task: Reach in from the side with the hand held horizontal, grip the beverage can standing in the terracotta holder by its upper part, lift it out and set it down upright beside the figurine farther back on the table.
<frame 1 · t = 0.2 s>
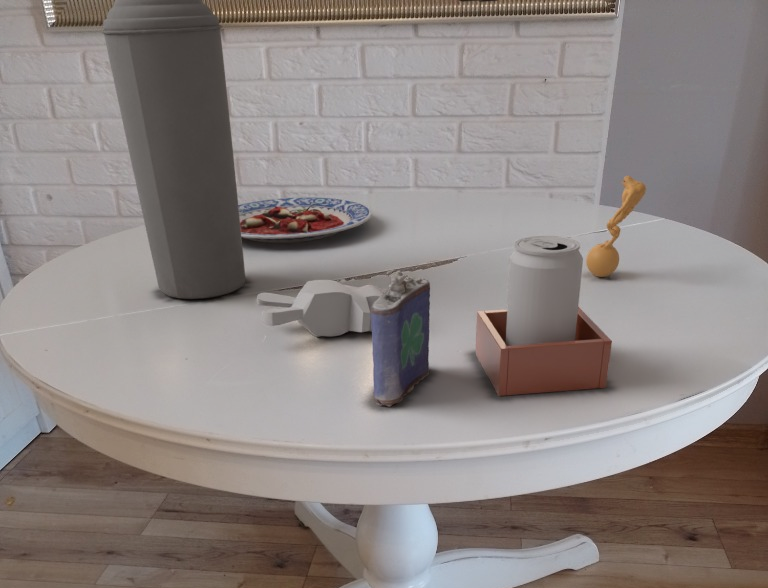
hand: (480, 1, 65), 30 cm above the table, tool pointing down, fingers open, 8 cm apart
canister: (203, 289, 102), on the table
ceramic plate: (291, 230, 125), on the table
flask: (401, 388, 74), on the table
figurine: (608, 278, 100), on the table
beverage can: (537, 372, 76), resting in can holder
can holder: (537, 370, 76), on the table
bunny figurine: (331, 332, 87), on the table
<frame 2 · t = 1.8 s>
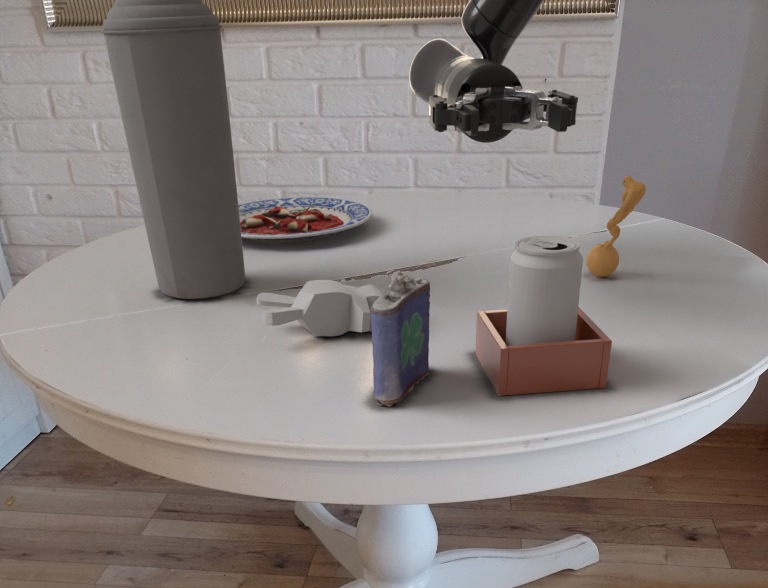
hand: (520, 121, 74), 20 cm above the table, tool horizontal, fingers open, 8 cm apart
nothing on the table moved.
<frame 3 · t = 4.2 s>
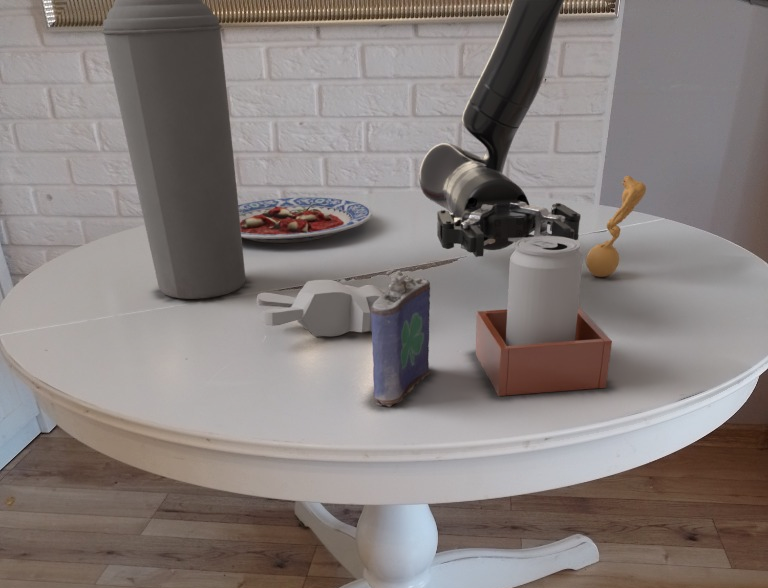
hand: (524, 243, 77), 10 cm above the table, tool horizontal, fingers open, 8 cm apart
nothing on the table moved.
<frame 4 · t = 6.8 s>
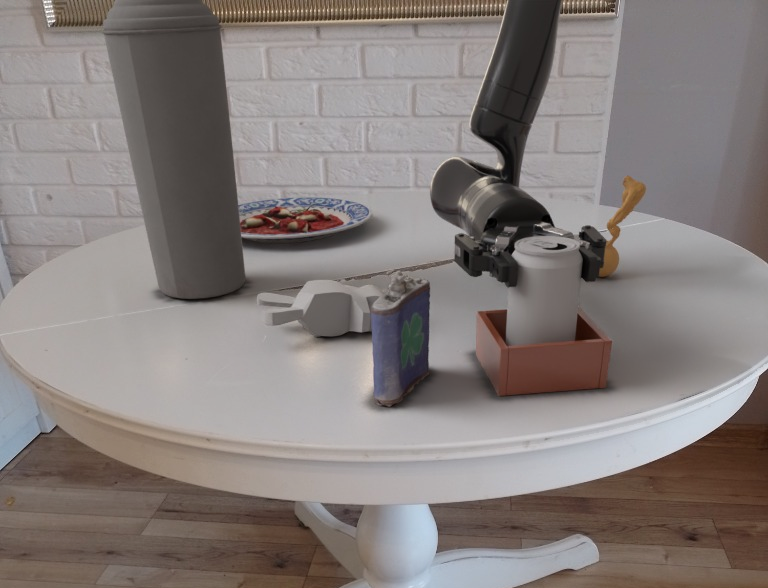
hand: (553, 273, 69), 10 cm above the table, tool horizontal, fingers closed on beverage can, 6 cm apart
beverage can: (537, 372, 76), resting in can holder, touching gripper
everything else where it was.
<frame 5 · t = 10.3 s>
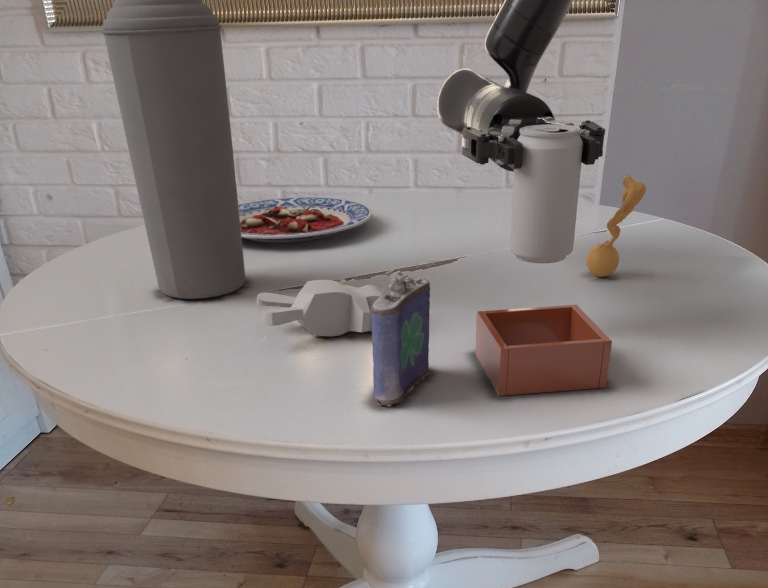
hand: (555, 154, 74), 18 cm above the table, tool horizontal, fingers closed on beverage can, 6 cm apart
beverage can: (540, 258, 81), point 8 cm above the table, touching gripper
everything else where it was.
when the fingers open (10 cm above the table, at t = 13.9 s): beverage can stays where it is, on the table.
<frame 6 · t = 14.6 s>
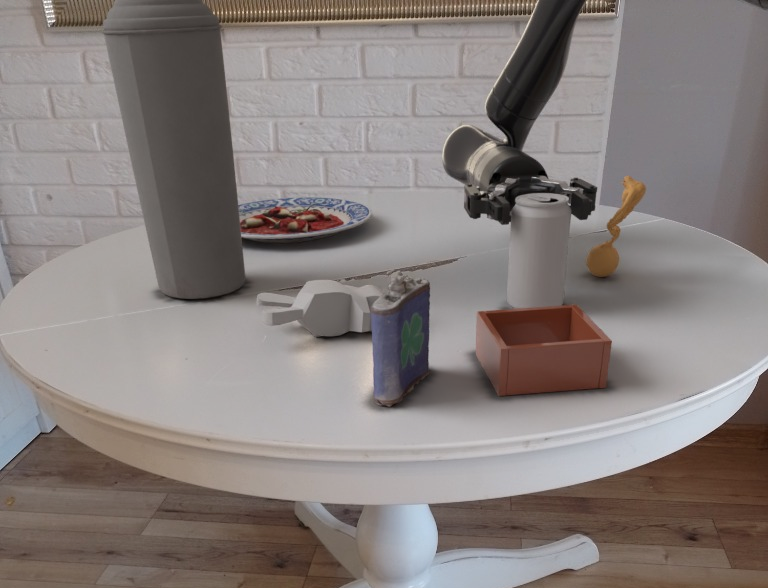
hand: (546, 212, 84), 11 cm above the table, tool horizontal, fingers open, 8 cm apart
beverage can: (534, 308, 91), on the table
everything else where it was.
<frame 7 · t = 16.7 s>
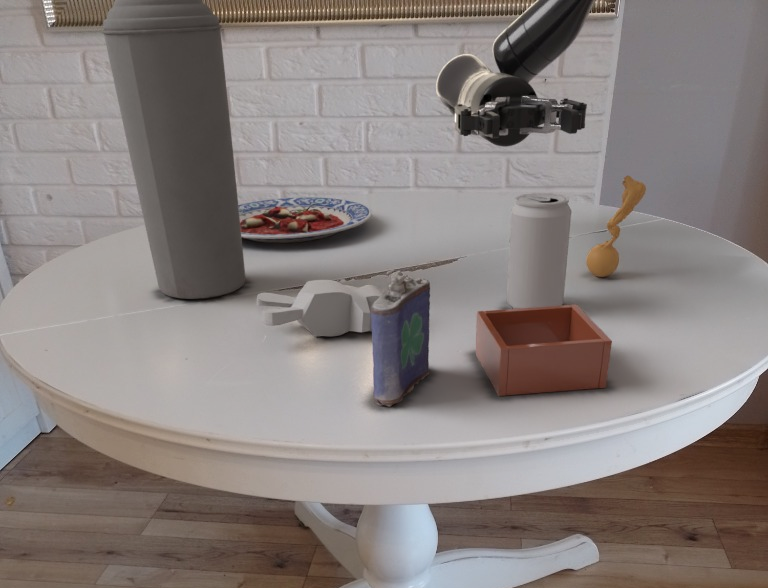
hand: (536, 125, 84), 19 cm above the table, tool horizontal, fingers open, 8 cm apart
nothing on the table moved.
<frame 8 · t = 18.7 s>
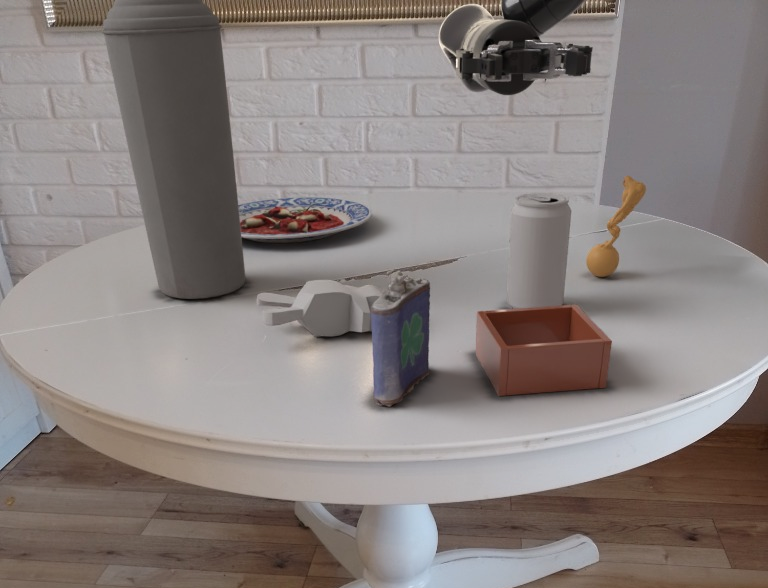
hand: (539, 66, 81), 24 cm above the table, tool horizontal, fingers open, 8 cm apart
nothing on the table moved.
at the end: beverage can inside the target area on the table beside the figurine (2.9 cm from its centre), on the table; beverage can tilted 0°; the gripper is holding nothing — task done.
